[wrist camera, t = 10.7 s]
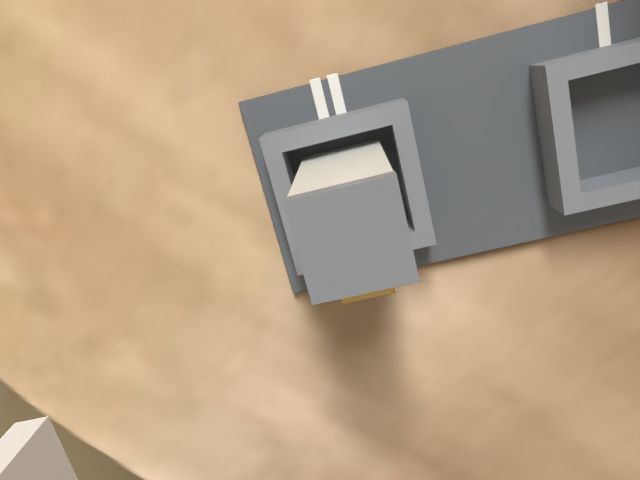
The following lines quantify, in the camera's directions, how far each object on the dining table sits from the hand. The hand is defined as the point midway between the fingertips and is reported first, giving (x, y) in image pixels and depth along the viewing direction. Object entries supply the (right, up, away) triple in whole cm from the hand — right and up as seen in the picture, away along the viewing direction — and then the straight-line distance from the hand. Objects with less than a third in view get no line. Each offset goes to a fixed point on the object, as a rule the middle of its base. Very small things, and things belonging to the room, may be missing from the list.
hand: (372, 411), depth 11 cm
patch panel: (+8, +9, +21) cm, 24 cm away
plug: (+1, +7, +22) cm, 23 cm away
